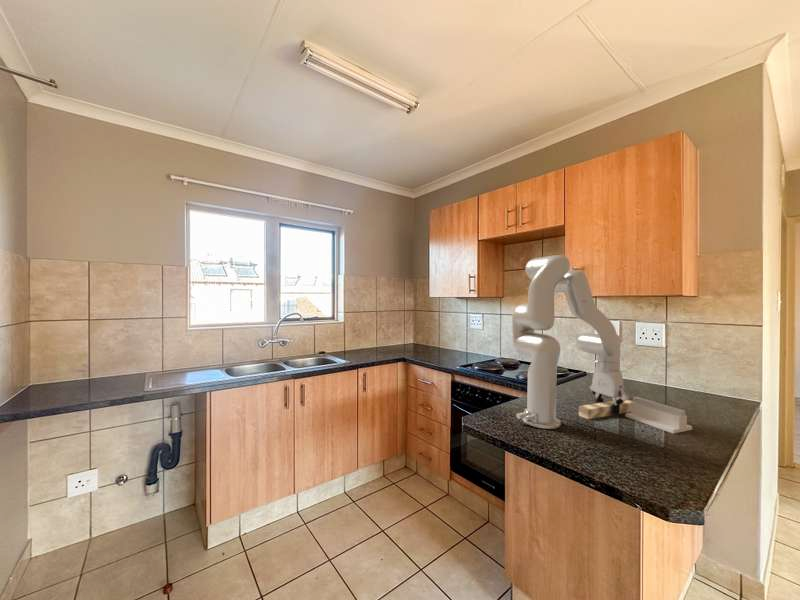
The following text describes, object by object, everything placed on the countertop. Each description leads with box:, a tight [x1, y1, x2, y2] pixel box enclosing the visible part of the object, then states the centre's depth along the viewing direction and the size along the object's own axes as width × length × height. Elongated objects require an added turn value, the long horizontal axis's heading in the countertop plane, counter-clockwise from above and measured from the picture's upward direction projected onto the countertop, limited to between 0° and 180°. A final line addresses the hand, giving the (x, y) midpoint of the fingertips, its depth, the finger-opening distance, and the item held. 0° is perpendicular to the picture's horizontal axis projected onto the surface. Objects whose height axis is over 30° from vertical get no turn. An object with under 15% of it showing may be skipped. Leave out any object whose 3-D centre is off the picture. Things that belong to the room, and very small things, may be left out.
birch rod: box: [578, 400, 633, 420], centre depth 127 cm, size 26×4×4 cm, turn 111°
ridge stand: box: [624, 396, 693, 434], centre depth 118 cm, size 10×16×7 cm, turn 20°
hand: (607, 411), depth 127 cm, fingers open, 5 cm apart
